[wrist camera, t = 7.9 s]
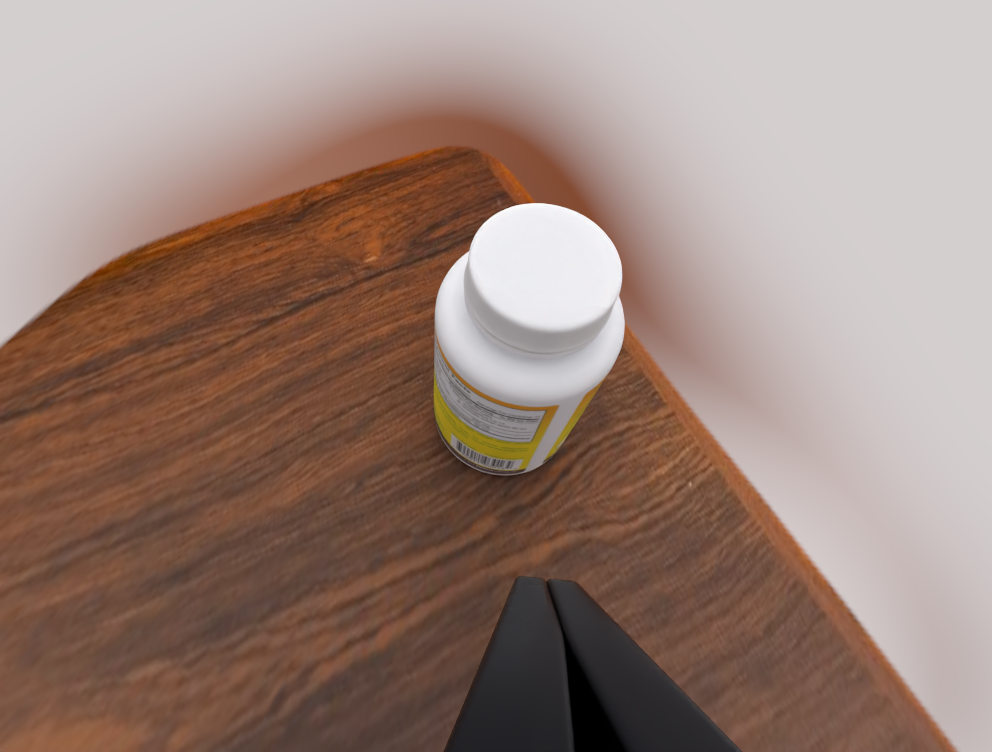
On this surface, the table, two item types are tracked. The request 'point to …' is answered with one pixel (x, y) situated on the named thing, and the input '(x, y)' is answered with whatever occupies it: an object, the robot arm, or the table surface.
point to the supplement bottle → (524, 336)
